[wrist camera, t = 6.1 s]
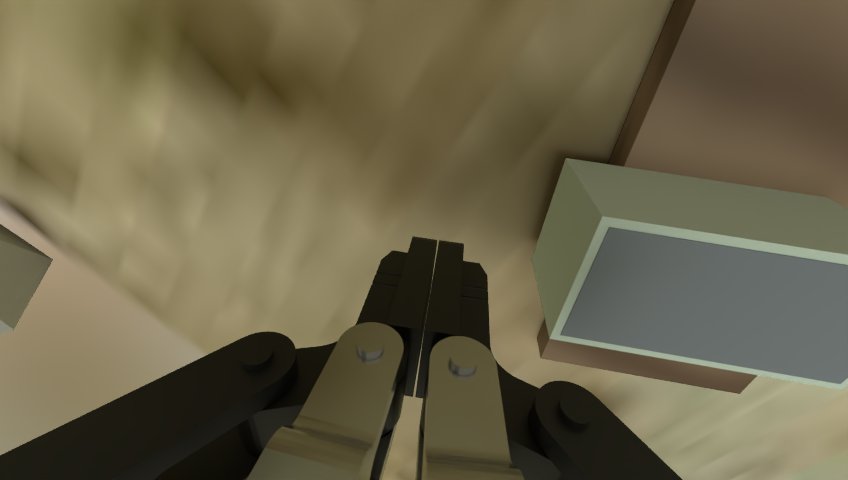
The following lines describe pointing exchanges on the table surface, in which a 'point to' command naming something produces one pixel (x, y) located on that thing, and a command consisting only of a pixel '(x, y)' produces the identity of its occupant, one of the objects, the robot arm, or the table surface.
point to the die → (18, 276)
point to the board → (735, 125)
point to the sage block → (697, 272)
